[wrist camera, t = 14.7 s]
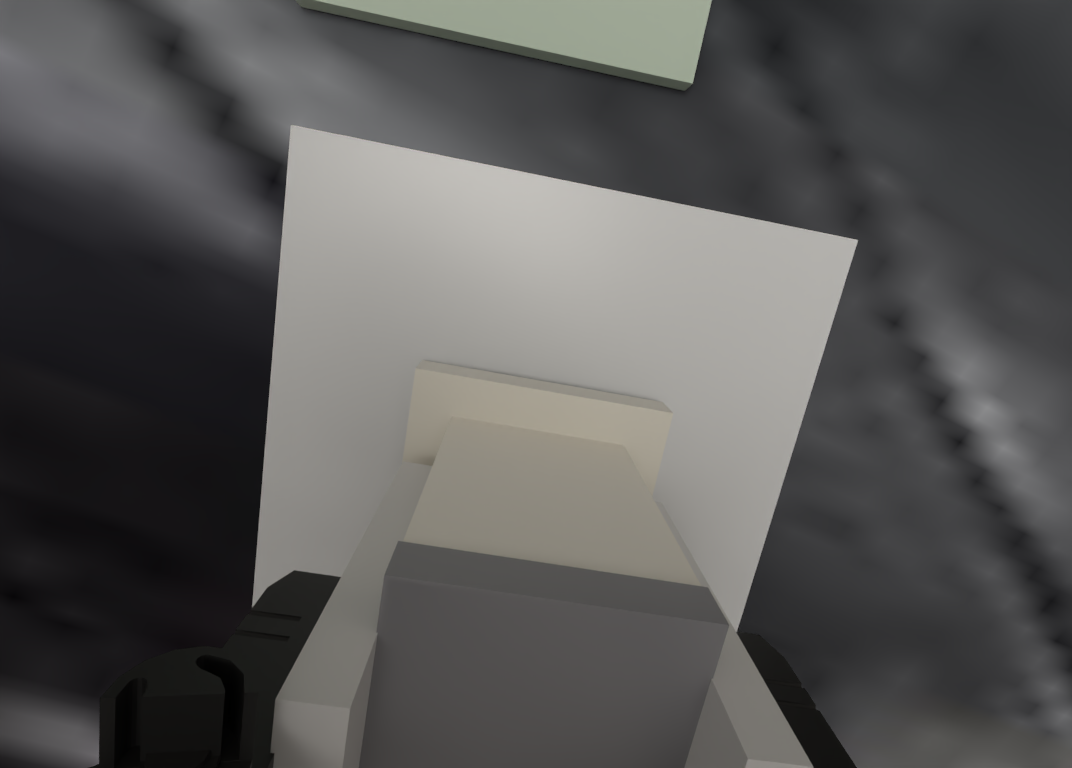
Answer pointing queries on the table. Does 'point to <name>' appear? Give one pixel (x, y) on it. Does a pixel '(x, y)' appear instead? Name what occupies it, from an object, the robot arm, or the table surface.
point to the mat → (558, 30)
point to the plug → (537, 587)
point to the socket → (531, 336)
